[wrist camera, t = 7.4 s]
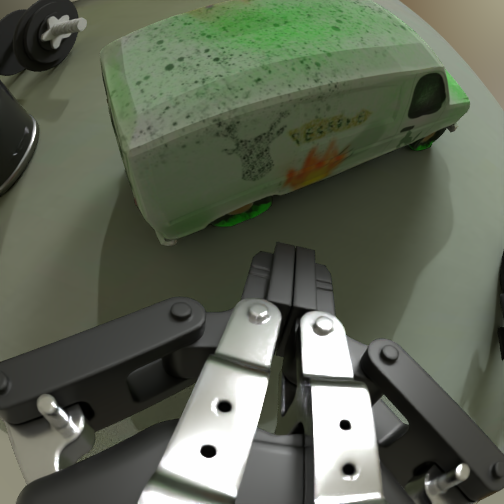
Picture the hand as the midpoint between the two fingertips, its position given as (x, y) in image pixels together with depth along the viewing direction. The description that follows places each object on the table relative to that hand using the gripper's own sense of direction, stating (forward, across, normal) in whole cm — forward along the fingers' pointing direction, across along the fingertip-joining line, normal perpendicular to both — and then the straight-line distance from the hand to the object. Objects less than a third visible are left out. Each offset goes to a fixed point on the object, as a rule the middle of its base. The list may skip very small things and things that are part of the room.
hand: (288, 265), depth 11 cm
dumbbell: (+19, +34, -10) cm, 40 cm away
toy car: (+13, 0, -4) cm, 13 cm away
